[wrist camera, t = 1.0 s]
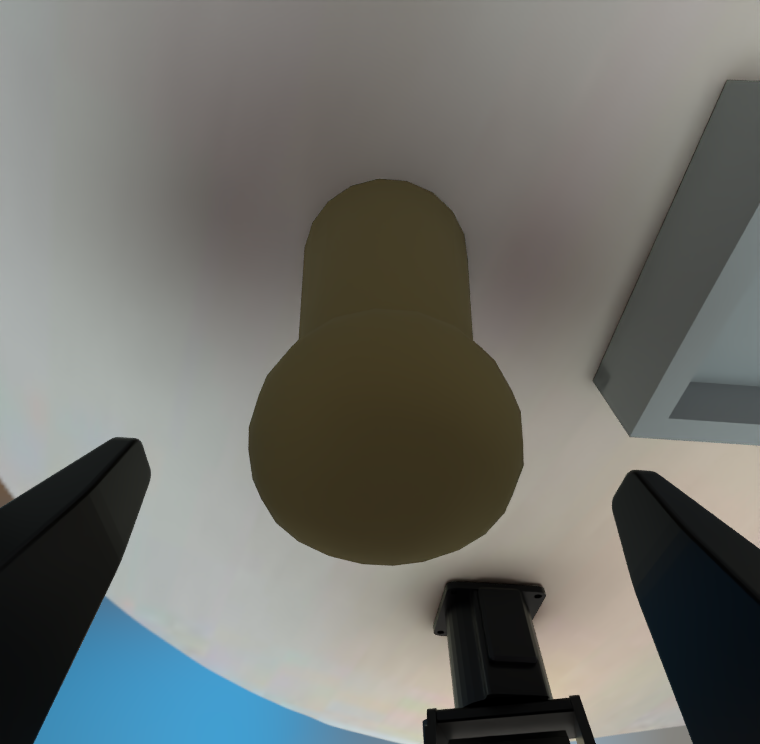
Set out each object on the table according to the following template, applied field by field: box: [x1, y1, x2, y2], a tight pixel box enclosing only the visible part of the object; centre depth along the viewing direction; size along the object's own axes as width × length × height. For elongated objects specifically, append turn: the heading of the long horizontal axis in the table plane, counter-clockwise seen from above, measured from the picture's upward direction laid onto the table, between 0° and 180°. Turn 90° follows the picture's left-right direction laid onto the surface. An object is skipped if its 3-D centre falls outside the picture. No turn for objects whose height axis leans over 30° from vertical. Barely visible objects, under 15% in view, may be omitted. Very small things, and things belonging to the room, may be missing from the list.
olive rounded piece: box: [248, 179, 524, 566], centre depth 12 cm, size 6×6×11 cm
